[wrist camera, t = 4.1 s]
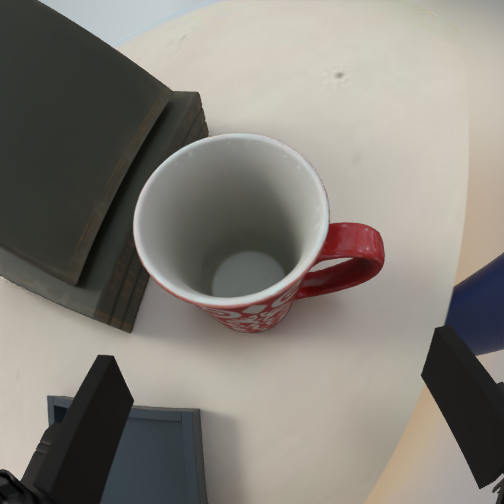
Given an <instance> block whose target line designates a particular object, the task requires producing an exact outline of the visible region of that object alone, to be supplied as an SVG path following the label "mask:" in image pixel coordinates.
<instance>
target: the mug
mask: <svg viewBox="0 0 504 504" xmlns="http://www.w3.org/2000/svg"><path fill="white" fill-rule="evenodd" d="M133 234H134V241H135V245H136V249H137V252H138V255H139V258H140V260H141V262H142V264H143V266H144V267H145V269H146V270H147V272H148V273H149V274H150V276H151V277H152V278H153V279H154V280H155V281H156V282H157V283H158V284H159V285H160V286H161V287H162V288H164V289H165V290H166V291H168V292H169V293H170V294H172V295H174V296H176V297H177V298H179V299H181V300H184V301H186V302H189V303H192V304H194V305H196V306H197V307H199V308H200V309H202V310H204V311H205V312H206V313H208V314H209V315H211V316H212V317H214V318H215V319H217V320H218V321H219V322H220V323H222V324H224V325H225V326H227V327H229V328H230V329H233V330H236V331H240V332H247V333H253V332H259V331H263V330H266V329H269V328H271V327H273V326H274V325H276V324H277V323H278V322H280V321H281V320H282V319H283V318H284V317H285V315H286V314H287V313H288V311H289V310H290V308H291V306H292V303H293V301H295V300H297V299H301V298H306V297H312V296H318V295H323V294H327V293H332V292H336V291H340V290H343V289H347V288H350V287H354V286H357V285H359V284H361V283H364V282H366V281H368V280H370V279H372V278H373V277H375V276H376V275H377V274H378V273H379V272H380V270H381V269H382V267H383V264H384V257H385V254H384V246H383V241H382V238H381V236H380V233H379V232H378V231H376V230H375V229H374V228H372V227H370V226H367V225H364V224H360V223H346V222H345V223H333V224H330V211H329V202H328V197H327V193H326V190H325V188H324V185H323V183H322V180H321V179H320V177H319V175H318V173H317V172H316V170H315V169H314V168H313V166H312V165H311V164H310V163H309V162H308V161H307V160H306V159H305V158H304V157H303V156H302V155H301V154H300V153H298V152H297V151H296V150H294V149H293V148H291V147H290V146H288V145H286V144H284V143H282V142H280V141H277V140H275V139H272V138H269V137H265V136H261V135H256V134H247V133H230V134H221V135H216V136H211V137H207V138H204V139H201V140H198V141H196V142H193V143H191V144H189V145H187V146H185V147H183V148H181V149H180V150H179V151H177V152H175V153H174V154H173V155H171V156H170V157H169V158H168V159H166V160H165V161H164V162H163V163H162V164H161V165H160V166H159V167H158V168H157V169H156V170H155V171H154V172H153V174H152V175H151V176H150V178H149V179H148V181H147V182H146V184H145V185H144V187H143V189H142V191H141V193H140V196H139V198H138V201H137V205H136V208H135V213H134V220H133ZM337 258H353V259H350V260H348V261H345V262H342V263H340V264H337V265H335V266H331V267H328V268H325V269H323V270H318V271H315V272H309V273H307V272H308V271H309V270H310V269H311V267H313V266H315V265H316V264H318V263H319V262H322V261H325V260H331V259H337Z"/></svg>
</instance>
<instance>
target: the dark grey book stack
mask: <svg viewBox="0 0 504 504" xmlns="http://www.w3.org/2000/svg"><path fill="white" fill-rule="evenodd" d="M208 133H209V132H208V127H207V123H206V122H205V115H204V111H203V108H202V103H201V98H200V94H199V93H198V92H186V91H172V90H171V89H169V88H168V87H167V86H165V85H164V84H163V83H161V82H160V81H159V80H157V79H156V78H155V77H153V76H152V75H151V74H149V73H148V72H147V71H145V70H144V69H143V68H141V67H140V66H138V65H137V64H136V63H134V62H133V61H131V60H130V59H129V58H127V57H126V56H124V55H123V54H121V53H120V52H119V51H117V50H116V49H114V48H113V47H111V46H110V45H108V44H107V43H105V42H104V41H102V40H101V39H99V38H98V37H96V36H95V35H93V34H92V33H90V32H89V31H87V30H86V29H84V28H82V27H81V26H79V25H78V24H76V23H75V22H73V21H71V20H70V19H68V18H67V17H65V16H63V15H62V14H60V13H58V12H57V11H55V10H53V9H52V8H50V7H48V6H47V5H45V4H43V3H41V2H40V1H38V0H0V275H1V276H2V277H4V278H6V279H8V280H10V281H12V282H13V283H15V284H17V285H19V286H21V287H23V288H25V289H27V290H29V291H32V292H34V293H36V294H38V295H40V296H42V297H44V298H46V299H48V300H51V301H53V302H55V303H57V304H59V305H62V306H64V307H66V308H69V309H71V310H73V311H75V312H78V313H80V314H83V315H85V316H87V317H90V318H92V319H95V320H97V321H100V322H102V323H105V324H107V325H110V326H113V327H115V328H118V329H121V330H123V331H126V332H128V333H130V332H131V328H132V325H133V322H134V319H135V316H136V313H137V310H138V307H139V304H140V301H141V298H142V295H143V292H144V289H145V286H146V283H147V280H148V277H149V275H150V274H149V273H148V272H147V270H146V269H145V267H144V266H143V264H142V262H141V260H140V258H139V255H138V252H137V249H136V245H135V241H134V234H133V220H134V213H135V208H136V205H137V201H138V198H139V196H140V193H141V191H142V189H143V187H144V185H145V184H146V182H147V181H148V179H149V178H150V176H151V175H152V174H153V172H154V171H155V170H156V169H157V168H158V167H159V166H160V165H161V164H162V163H163V162H164V161H165V160H166V159H168V158H169V157H170V156H171V155H173V154H174V153H175V152H177V151H179V150H180V149H181V148H183V147H185V146H187V145H189V144H191V143H193V142H196V141H198V140H201V139H204V138H206V137H207V135H208Z"/></svg>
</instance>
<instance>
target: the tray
mask: <svg viewBox="0 0 504 504" xmlns="http://www.w3.org/2000/svg"><path fill="white" fill-rule="evenodd" d="M73 399H74V398H72V397H66V396H47V402H48V421H49V427H50V426H51V425H52V424H53V423H54V422H56V423H60V424H61V422H62V420H63V419H64V417H65V415H66V413H67V411H68V409H69V407H70V405H71V403H72V401H73ZM100 504H208V501H207V492H206V482H205V471H204V460H203V447H202V434H201V419H200V409H187V408H162V407H146V406H134V405H132V408H131V411H130V413H129V416H128V419H127V422H126V425H125V428H124V431H123V433H122V436H121V439H120V442H119V445H118V448H117V451H116V454H115V457H114V460H113V463H112V466H111V470H110V473H109V476H108V479H107V482H106V485H105V489H104V492H103V495H102V499H101V502H100Z"/></svg>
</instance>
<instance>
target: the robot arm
mask: <svg viewBox="0 0 504 504" xmlns="http://www.w3.org/2000/svg"><path fill="white" fill-rule="evenodd" d="M421 377H422V378H423V380H424V382H425V384H426V385H427V387H428V389H429V390H430V392H431V394H432V396H433V397H434V399H435V401H436V403H437V405H438V406H439V408H440V410H441V412H442V414H443V416H444V418H445V419H446V422H447V423H448V425H449V427H450V429H451V431H452V433H453V435H454V437H455V439H456V441H457V443H458V445H459V447H460V449H461V451H462V453H463V455H464V457H465V459H466V461H467V463H468V465H469V467H470V469H471V472H472V474H473V476H474V478H475V480H476V483H477V485H478V487H479V489H481V488H483V487H485V486H487V485H489V484H490V483H492V482H494V481H495V480H496V479H497V478H498V477H499V476H500V475H501V474H502V473H503V474H504V383H503V382H500V383H498V384H496V383H495V381H494V380H493V379H492V377H491V376H490V375H489V373H488V372H487V371H486V369H485V368H484V367H483V365H482V364H481V363H480V362H479V360H478V359H477V358H476V356H475V355H474V354H473V353H472V351H471V350H470V349H469V348H468V347H467V345H466V344H465V343H464V342H463V340H462V339H461V338H460V337H459V336H458V334H457V333H456V332H455V331H454V330H453V328H452V327H451V326H450V325H446V326H442V327H437V328H435V331H434V334H433V338H432V342H431V345H430V349H429V352H428V355H427V359H426V362H425V365H424V368H423V371H422V374H421ZM133 402H134V399H133V397H132V395H131V393H130V391H129V389H128V387H127V385H126V383H125V380H124V378H123V376H122V374H121V372H120V369H119V367H118V365H117V362H116V360H115V358H114V356H109V355H98V356H97V358H96V360H95V361H94V363H93V365H92V367H91V368H90V370H89V372H88V374H87V376H86V377H85V379H84V381H83V383H82V385H81V386H80V388H79V390H78V392H77V394H76V396H75V398H74V399H73V401H72V403H71V405H70V407H69V409H68V411H67V413H66V415H65V417H64V419H63V420H62V422H61V424H60V423H56V422H54V423H53V424H52V425H51V426H50V427H49V428H48V429H47V430H46V431H45V432H44V434H43V436H42V438H41V440H40V443H39V444H38V446H37V448H36V451H35V452H34V454H33V456H32V458H31V460H30V463H29V465H28V467H27V469H26V471H25V473H24V475H23V478H22V479H21V481H19V480H18V479H17V478H16V477H15V476H13V475H12V474H11V473H10V472H9V471H7V470H4V469H2V470H0V504H100V502H101V499H102V495H103V492H104V489H105V485H106V482H107V479H108V476H109V473H110V470H111V466H112V463H113V460H114V457H115V454H116V451H117V448H118V445H119V442H120V439H121V436H122V433H123V431H124V428H125V425H126V422H127V419H128V416H129V413H130V411H131V408H132V405H133ZM499 487H500V490H499V491H498V492H497V493H499V494H498V498H497V502H496V504H504V478H503V479H502V480H501V481H500V482H499V483H498V484H497V485H496V486H495V487H494V489H493V491H492V492H493V493H494V492H495V491H496V490H497V489H498V488H499Z"/></svg>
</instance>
